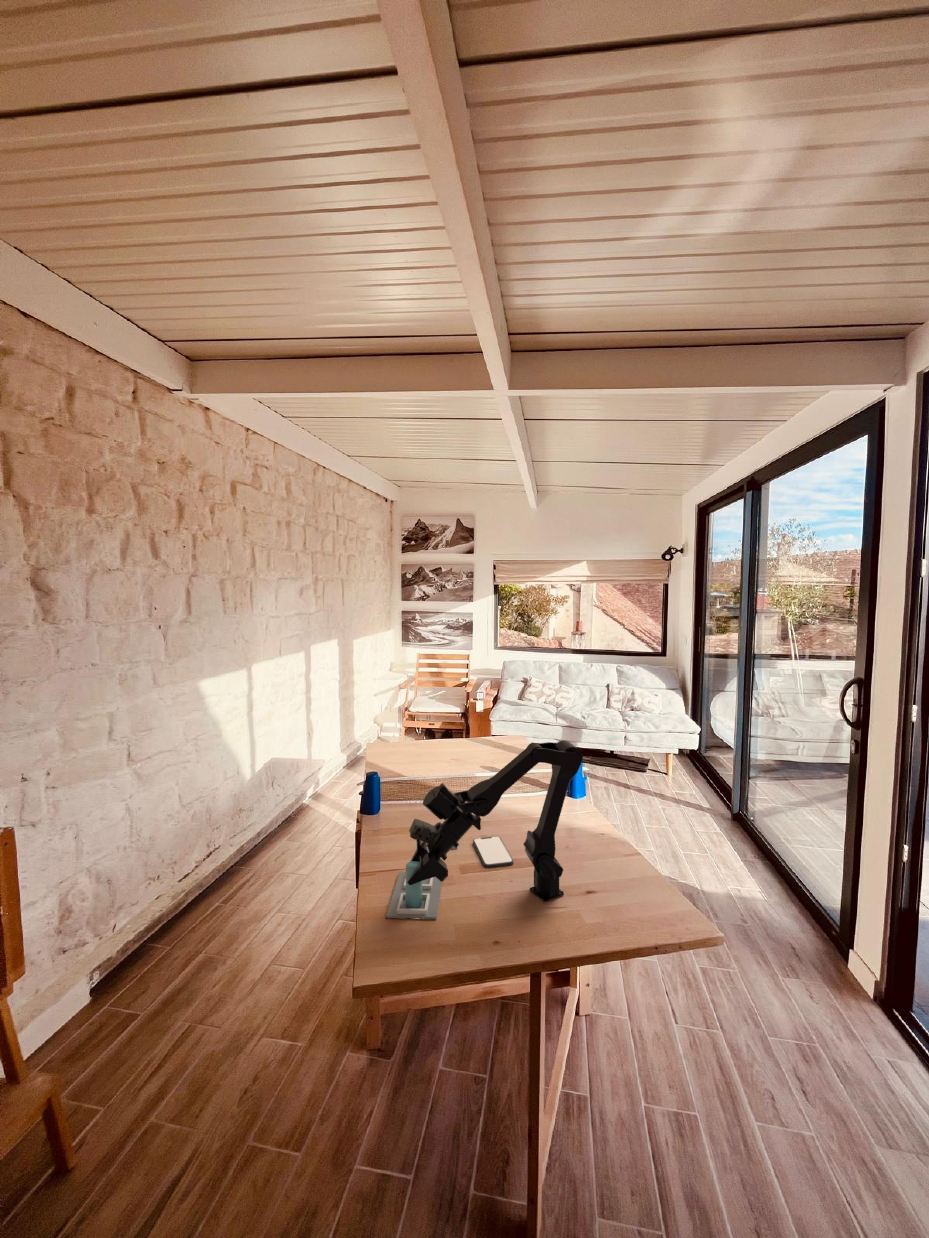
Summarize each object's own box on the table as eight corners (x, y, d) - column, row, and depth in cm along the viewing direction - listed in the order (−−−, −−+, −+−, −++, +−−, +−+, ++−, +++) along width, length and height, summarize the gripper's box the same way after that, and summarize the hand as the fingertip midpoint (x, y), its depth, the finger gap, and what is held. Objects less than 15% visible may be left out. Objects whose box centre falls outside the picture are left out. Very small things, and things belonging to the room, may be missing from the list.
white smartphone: (515, 867, 158) (499, 840, 173) (515, 861, 158) (499, 835, 173) (484, 870, 156) (471, 843, 171) (484, 865, 156) (471, 838, 171)
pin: (425, 904, 137) (425, 864, 137) (413, 911, 134) (413, 870, 134) (413, 898, 140) (414, 859, 140) (402, 905, 137) (402, 865, 137)
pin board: (399, 874, 153) (399, 868, 153) (443, 875, 152) (443, 869, 152) (386, 918, 133) (386, 911, 133) (436, 919, 132) (436, 913, 132)
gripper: (424, 794, 145) (382, 839, 144) (433, 825, 127) (385, 877, 126) (454, 821, 147) (413, 866, 146) (467, 856, 129) (420, 907, 128)
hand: (407, 877), depth 136 cm, fingers open, 5 cm apart
